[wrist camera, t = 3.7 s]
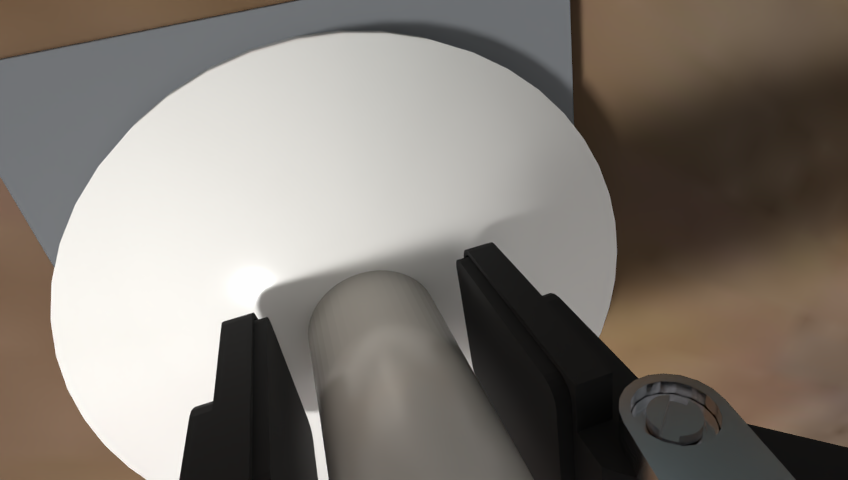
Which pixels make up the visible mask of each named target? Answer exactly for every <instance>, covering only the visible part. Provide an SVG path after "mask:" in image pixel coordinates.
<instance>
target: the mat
mask: <svg viewBox="0 0 848 480" xmlns="http://www.w3.org/2000/svg"><path fill="white" fill-rule="evenodd" d="M337 30H347V31H386V32H393V33H400V34H406V35H413V36H420V37H424V38H427V39H430V40H434V41H437V42H440V43H444V44H447V45H450V46H454V47H457V48H460V49H464V50H467V51H470V52H473V53H475V54H477V55H480V56H482V57H484V58H486V59H488V60H490V61H492V62H494V63H497V64H499V65H501V66H503V67H505V68H507V69H509V70H510V71H512V72H513V73H515V74H516V75H518V76H519V77H521V78H522V79H524V80H525V81H527V82H528V83H530V84H531V85H533V86H534V87H536V88H537V89H539V90H540V91H541V92H542V93H543V94H544V95H545V96H546V97H547V98H548V99H549V100H550V101H551V102H552V103H554V104H555V105H556V106H557V107H558V108H559V109H560V110H561V111H562V112H563V113H564V114H565V115H566V116H567V118H568V119H569V120H570V122H571V123H572V124H573V125H574V112H573V81H572V50H571V19H570V0H295V1H290V2H285V3H280V4H275V5H270V6H265V7H260V8H255V9H249V10H244V11H239V12H234V13H229V14H224V15H219V16H214V17H209V18H204V19H199V20H194V21H189V22H184V23H179V24H174V25H169V26H164V27H159V28H154V29H149V30H144V31H139V32H134V33H129V34H124V35H119V36H114V37H109V38H104V39H99V40H94V41H89V42H84V43H79V44H74V45H69V46H64V47H58V48H53V49H48V50H43V51H38V52H33V53H28V54H23V55H18V56H13V57H8V58H3V59H0V177H1V179H2V180H3V182H4V184H5V185H6V187H7V189H8V190H9V192H10V194H11V195H12V197H13V199H14V201H15V202H16V204H17V206H18V207H19V209H20V211H21V212H22V214H23V216H24V217H25V219H26V221H27V222H28V224H29V226H30V227H31V229H32V231H33V233H34V234H35V236H36V238H37V239H38V241H39V243H40V244H41V246H42V248H43V249H44V251H45V253H46V254H47V256H48V258H49V259H50V261H51V263H52V265H53V266H54V268H55V264H56V259H57V254H58V249H59V244H60V241H61V239H62V236H63V234H64V231H65V229H66V226H67V224H68V221H69V219H70V216H71V214H72V211H73V209H74V206H75V204H76V202H77V201H78V199H79V197H80V196H81V194H82V192H83V191H84V189H85V188H86V186H87V184H88V183H89V181H90V179H91V178H92V176H93V174H94V173H95V171H96V169H97V168H98V166H99V165H100V164H101V163H102V162H103V160H104V159H105V158H106V157H107V156H108V155H109V153H110V152H111V151H112V150H113V149H114V147H115V146H116V145H117V144H118V143H119V142H120V140H121V139H122V138H123V137H124V136H125V135H126V133H127V132H128V131H129V130H130V129H131V128H132V127H133V125H134V124H135V123H136V122H137V121H138V120H139V119H140V118H141V117H142V116H144V115H145V114H146V113H147V112H148V111H149V110H151V109H152V108H153V107H154V106H155V105H156V104H157V103H159V102H160V101H161V100H162V99H163V98H164V97H166V96H167V95H168V94H169V93H170V92H171V91H173V90H174V89H176V88H178V87H179V86H181V85H182V84H184V83H185V82H187V81H189V80H190V79H192V78H193V77H195V76H197V75H198V74H200V73H201V72H203V71H204V70H206V69H208V68H209V67H211V66H213V65H216V64H218V63H220V62H222V61H225V60H227V59H229V58H231V57H234V56H236V55H238V54H240V53H243V52H245V51H247V50H249V49H252V48H255V47H259V46H262V45H266V44H269V43H273V42H276V41H280V40H283V39H287V38H290V37H294V36H301V35H308V34H316V33H323V32H330V31H337Z"/></svg>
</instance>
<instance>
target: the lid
mask: <svg viewBox="0 0 848 480" xmlns="http://www.w3.org/2000/svg"><path fill="white" fill-rule="evenodd" d="M490 242H493V243H494V244H495V245H496V246H497V247H498V248H499V249H500V250H501V251H502V253H503V254H504V255H505V256H506V257H507V258H508V259H509V260H510V261H511V262H512V263H513V264H514V266H515V267H516V268H517V269H518V270H519V271H520V272H521V273H522V274H523V275H524V276H525V278H526V279H527V280H528V281H529V282H530V283H531V284H532V285H533V286H534V287H535V288H536V289H537V291H538V292H539V293H540V294H541V295H545V294H549V293H553V294H556V295H557V296H558V297H560V298H561V299H562V300H563V301H564V303H565V304H566V305H567V306H568V307H569V308H570V309H571V310H572V311H573V312H574V313H575V314H576V315H577V316H578V317H579V318H580V319H581V320H582V321H583V322H584V323H585V324H586V325H587V326H588V327H589V328H590V329H591V330H592V331H593V332H594V333H595V334H596V335H597V337H598V338H599V336H600V334H601V331H602V328H603V325H604V322H605V319H606V316H607V313H608V310H609V307H610V302H611V297H612V292H613V287H614V282H615V274H616V260H617V241H616V224H615V219H614V214H613V209H612V204H611V199H610V194H609V192H608V189H607V186H606V184H605V181H604V178H603V175H602V173H601V170H600V167H599V165H598V163H597V161H596V160H595V158H594V156H593V154H592V152H591V151H590V149H589V147H588V145H587V143H586V142H585V140H584V138H583V137H582V136H581V134H580V133H579V132H578V131H577V129H576V128H575V127H574V125H573V124H572V123H571V122H570V120H569V119H568V118H567V116H566V115H565V114H564V113H563V112H562V111H561V110H560V109H559V108H558V107H557V106H556V105H555V104H554V103H552V102H551V101H550V100H549V99H548V98H547V97H546V96H545V95H544V94H543V93H542V92H541V91H540V90H539V89H537V88H536V87H534V86H533V85H531V84H530V83H528V82H527V81H525V80H524V79H522V78H521V77H519V76H518V75H516V74H515V73H513V72H512V71H510V70H509V69H507V68H505V67H503V66H501V65H499V64H497V63H494V62H492V61H490V60H488V59H486V58H484V57H482V56H480V55H477V54H475V53H473V52H470V51H467V50H464V49H460V48H457V47H454V46H450V45H447V44H444V43H440V42H437V41H434V40H430V39H427V38H424V37H420V36H413V35H406V34H400V33H393V32H386V31H347V30H337V31H330V32H323V33H316V34H308V35H301V36H294V37H290V38H287V39H283V40H280V41H276V42H273V43H269V44H266V45H262V46H259V47H255V48H252V49H249V50H247V51H245V52H243V53H240V54H238V55H236V56H234V57H231V58H229V59H227V60H225V61H222V62H220V63H218V64H216V65H213V66H211V67H209V68H208V69H206V70H204V71H203V72H201V73H200V74H198V75H197V76H195V77H193V78H192V79H190V80H189V81H187V82H185V83H184V84H182V85H181V86H179V87H178V88H176V89H174V90H173V91H171V92H170V93H169V94H168V95H167V96H166V97H164V98H163V99H162V100H161V101H160V102H159V103H157V104H156V105H155V106H154V107H153V108H152V109H151V110H149V111H148V112H147V113H146V114H145V115H144V116H142V117H141V118H140V119H139V120H138V121H137V122H136V123H135V124H134V125H133V127H132V128H131V129H130V130H129V131H128V132H127V133H126V135H125V136H124V137H123V138H122V139H121V140H120V142H119V143H118V144H117V145H116V146H115V147H114V149H113V150H112V151H111V152H110V153H109V155H108V156H107V157H106V158H105V159H104V160H103V162H102V163H101V164H100V165H99V166H98V168H97V169H96V171H95V173H94V174H93V176H92V178H91V179H90V181H89V183H88V184H87V186H86V188H85V189H84V191H83V192H82V194H81V196H80V197H79V199H78V201H77V202H76V204H75V206H74V209H73V211H72V214H71V216H70V219H69V221H68V224H67V226H66V229H65V231H64V234H63V236H62V239H61V241H60V244H59V249H58V254H57V259H56V264H55V269H54V273H53V278H52V286H51V326H52V332H53V339H54V345H55V352H56V357H57V360H58V363H59V366H60V369H61V372H62V374H63V377H64V380H65V383H66V386H67V389H68V391H69V393H70V394H71V396H72V398H73V400H74V402H75V403H76V405H77V407H78V409H79V411H80V412H81V414H82V416H83V418H84V419H85V421H86V422H87V423H88V425H89V426H90V427H91V428H92V430H93V431H94V432H95V433H96V435H97V436H98V437H99V438H100V440H101V441H102V442H103V443H104V445H105V446H106V447H107V448H109V449H110V450H111V451H112V452H113V453H114V454H115V455H116V456H117V457H118V458H119V459H120V460H121V461H123V462H124V463H125V464H126V465H127V466H128V467H129V468H131V469H132V470H134V471H135V472H136V473H138V474H139V475H141V476H142V477H144V478H145V479H147V480H179V478H180V472H181V466H182V459H183V453H184V447H185V440H186V434H187V428H188V421H189V416H190V413H191V410H192V409H193V408H194V407H196V406H199V405H202V404H205V403H209V402H212V401H213V398H214V389H215V379H216V370H217V361H218V351H219V342H220V333H221V325H222V322H223V321H227V320H230V319H233V318H237V317H240V316H243V315H247V314H250V313H255V315H256V316H257V318H258V319H261V318H264V317H268V318H269V320H270V322H271V324H272V327H273V330H274V332H275V335H276V337H277V340H278V343H279V345H280V348H281V350H282V353H283V356H284V358H285V361H286V363H287V366H288V369H289V371H290V374H291V376H292V379H293V382H294V384H295V387H296V389H297V392H298V395H299V397H300V400H301V402H302V405H303V408H304V410H305V413H306V415H307V418H308V421H309V424H310V427H311V431H312V436H313V442H314V450H315V458H316V467H317V475H318V480H534V479H533V477H532V475H531V473H530V472H529V470H528V468H527V466H526V464H525V463H524V461H523V459H522V457H521V456H520V454H519V452H518V450H517V448H516V447H515V445H514V443H513V441H512V440H511V438H510V436H509V434H508V432H507V431H506V429H505V427H504V425H503V423H502V422H501V420H500V418H499V416H498V415H497V413H496V411H495V409H494V407H493V406H492V404H491V402H490V400H489V399H488V397H487V395H486V393H485V391H484V390H483V388H482V386H481V384H480V383H479V381H478V379H477V377H476V375H475V373H474V370H473V366H472V360H471V354H470V348H469V342H468V336H467V330H466V323H465V317H464V311H463V305H462V299H461V293H460V287H459V280H458V274H457V268H456V261H457V260H458V259H462V258H464V251H465V250H466V249H470V248H473V247H476V246H480V245H483V244H486V243H490Z"/></svg>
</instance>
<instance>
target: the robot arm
mask: <svg viewBox="0 0 848 480" xmlns="http://www.w3.org/2000/svg"><path fill="white" fill-rule="evenodd" d="M456 268H457V274H458V280H459V287H460V293H461V299H462V305H463V311H464V317H465V323H466V330H467V336H468V342H469V348H470V354H471V360H472V366H473V370H474V373H475V375H476V377H477V379H478V381H479V383H480V384H481V386H482V388H483V390H484V391H485V393H486V395H487V397H488V399H489V400H490V402H491V404H492V406H493V407H494V409H495V411H496V413H497V415H498V416H499V418H500V420H501V422H502V423H503V425H504V427H505V429H506V431H507V432H508V434H509V436H510V438H511V440H512V441H513V443H514V445H515V447H516V448H517V450H518V452H519V454H520V456H521V457H522V459H523V461H524V463H525V464H526V466H527V468H528V470H529V472H530V473H531V475H532V477H533V479H534V480H848V448H847V447H843V446H838V445H834V444H830V443H826V442H822V441H817V440H813V439H809V438H805V437H800V436H796V435H792V434H788V433H783V432H779V431H775V430H771V429H766V428H762V427H758V426H754V425H750V424H746V422H745V421H744V420H743V419H742V418H741V417H740V416H739V415H738V413H737V412H736V411H735V410H734V409H733V408H732V407H731V405H730V404H729V403H728V402H727V401H726V400H725V399H724V398H723V397H722V396H721V395H720V394H718V393H717V392H716V391H715V390H714V389H712V388H711V387H709V386H707V385H705V384H703V383H701V382H699V381H698V380H694V379H691V378H688V377H685V376H681V375H673V374H654V375H647V376H644V377H642V378H639V379H638V378H637V377H636V376H635V375H634V374H633V373H632V372H631V371H630V369H629V368H628V367H627V366H626V365H625V364H624V363H623V362H622V361H621V360H620V359H619V358H618V357H617V356H616V355H615V354H614V353H613V352H612V351H611V350H610V349H609V348H608V347H607V346H606V345H605V344H604V343H603V342H602V341H601V340H600V339H599V338H598V337H597V335H596V334H595V333H594V332H593V331H592V330H591V329H590V328H589V327H588V326H587V325H586V324H585V323H584V322H583V321H582V320H581V319H580V318H579V317H578V316H577V315H576V314H575V313H574V312H573V311H572V310H571V309H570V308H569V307H568V306H567V305H566V304H565V303H564V301H563V300H562V299H561V298H560V297H558V296H557V295H556V294H553V293H549V294H545V295H541V294H540V293H539V292H538V291H537V289H536V288H535V287H534V286H533V285H532V284H531V283H530V282H529V281H528V280H527V279H526V278H525V276H524V275H523V274H522V273H521V272H520V271H519V270H518V269H517V268H516V267H515V266H514V264H513V263H512V262H511V261H510V260H509V259H508V258H507V257H506V256H505V255H504V254H503V253H502V251H501V250H500V249H499V248H498V247H497V246H496V245H495V244H494V243H493V242H490V243H486V244H483V245H480V246H476V247H473V248H470V249H466V250H465V251H464V258H462V259H458V260H457V261H456ZM179 480H318V475H317V467H316V458H315V450H314V442H313V436H312V431H311V427H310V424H309V421H308V418H307V415H306V413H305V410H304V408H303V405H302V402H301V400H300V397H299V395H298V392H297V389H296V387H295V384H294V382H293V379H292V376H291V374H290V371H289V369H288V366H287V363H286V361H285V358H284V356H283V353H282V350H281V348H280V345H279V343H278V340H277V337H276V335H275V332H274V330H273V327H272V324H271V322H270V320H269V318H268V317H264V318H261V319H258V318H257V316H256V315H255V313H250V314H247V315H243V316H240V317H237V318H233V319H230V320H227V321H223V322H222V325H221V333H220V342H219V351H218V361H217V370H216V379H215V389H214V398H213V401H212V402H209V403H205V404H202V405H199V406H196V407H194V408H193V409H192V410H191V413H190V416H189V421H188V428H187V434H186V440H185V447H184V453H183V459H182V466H181V472H180V478H179Z"/></svg>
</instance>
